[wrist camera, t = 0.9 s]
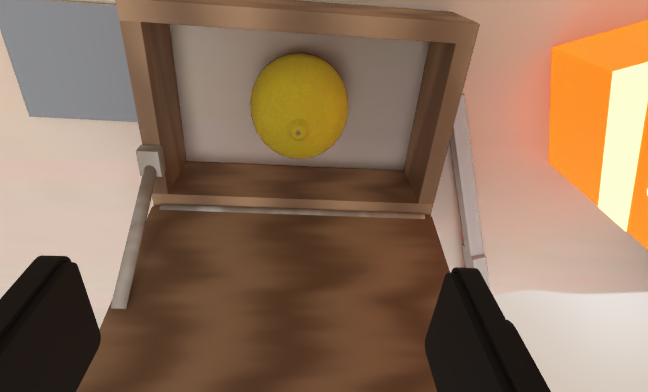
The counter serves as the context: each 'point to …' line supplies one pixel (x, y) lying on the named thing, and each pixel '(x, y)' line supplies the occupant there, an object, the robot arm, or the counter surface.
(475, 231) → the caliper
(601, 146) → the orange juice
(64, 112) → the coaster
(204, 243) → the case
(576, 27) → the counter surface
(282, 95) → the lemon
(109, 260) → the counter surface
